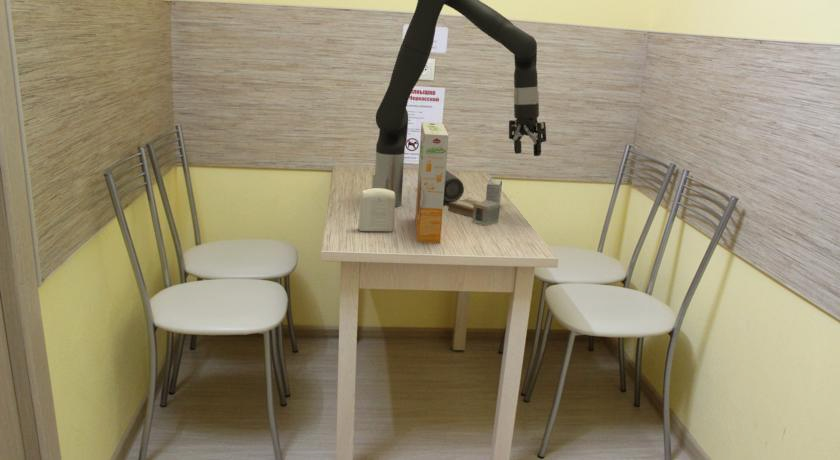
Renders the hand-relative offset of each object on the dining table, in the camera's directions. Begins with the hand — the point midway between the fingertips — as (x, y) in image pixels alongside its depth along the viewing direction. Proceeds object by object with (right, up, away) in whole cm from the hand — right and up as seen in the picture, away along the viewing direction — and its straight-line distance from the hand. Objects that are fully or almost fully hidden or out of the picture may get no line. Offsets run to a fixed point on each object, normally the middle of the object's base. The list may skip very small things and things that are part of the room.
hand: (527, 154), depth 211 cm
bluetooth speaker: (-27, -12, +26) cm, 40 cm away
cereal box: (-32, -24, -13) cm, 42 cm away
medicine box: (-9, -16, +19) cm, 26 cm away
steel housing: (-13, -21, 0) cm, 25 cm away
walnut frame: (-17, -18, +10) cm, 26 cm away
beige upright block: (-46, -24, -16) cm, 55 cm away
